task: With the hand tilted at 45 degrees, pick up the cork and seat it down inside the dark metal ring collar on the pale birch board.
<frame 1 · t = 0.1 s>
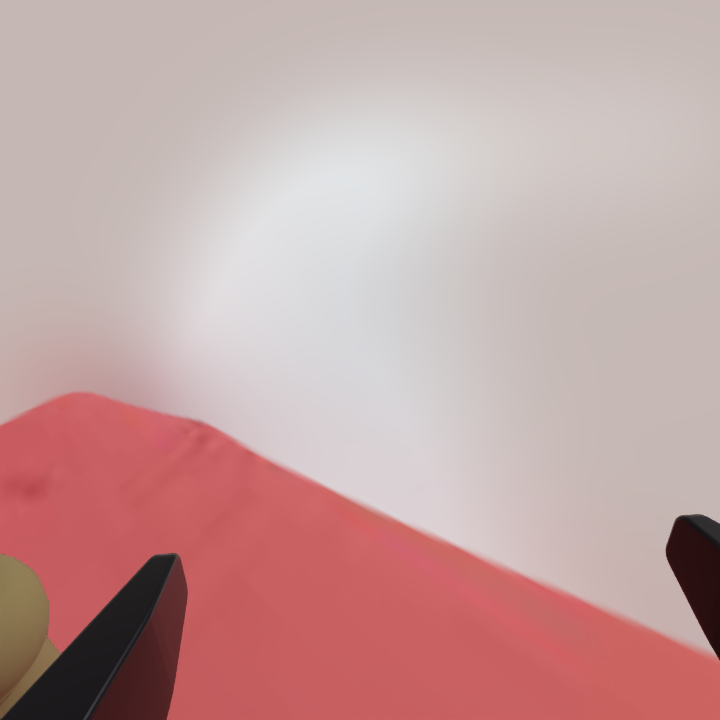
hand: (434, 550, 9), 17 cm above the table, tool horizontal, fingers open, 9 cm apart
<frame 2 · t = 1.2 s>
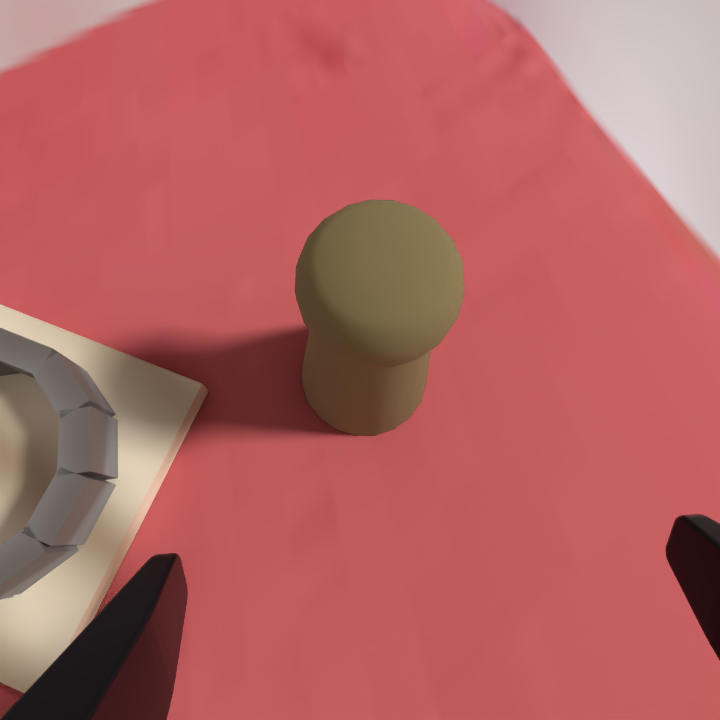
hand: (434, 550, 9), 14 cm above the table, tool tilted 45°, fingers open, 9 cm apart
cork: (363, 375, 25), on the table
collar board: (7, 470, 22), on the table
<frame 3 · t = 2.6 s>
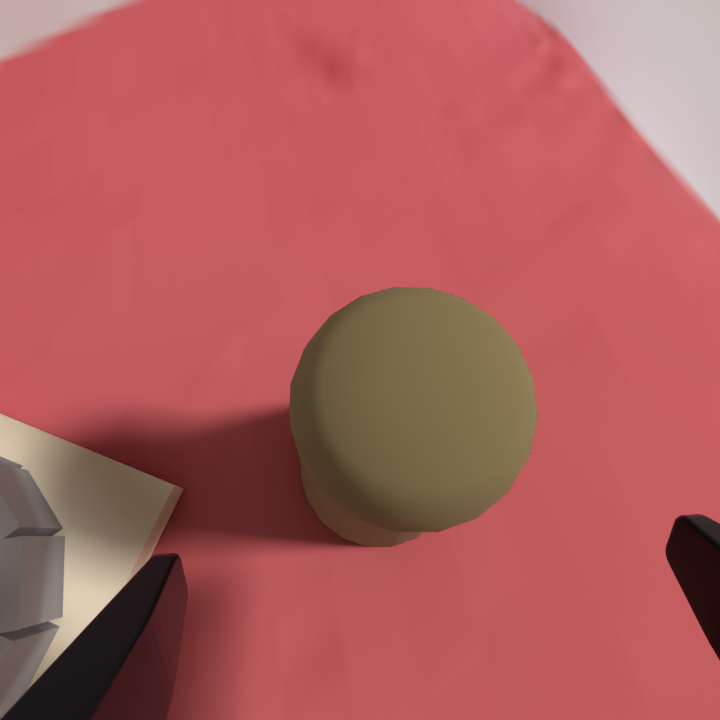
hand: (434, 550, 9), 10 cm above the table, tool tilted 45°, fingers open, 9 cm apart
cork: (377, 465, 20), on the table
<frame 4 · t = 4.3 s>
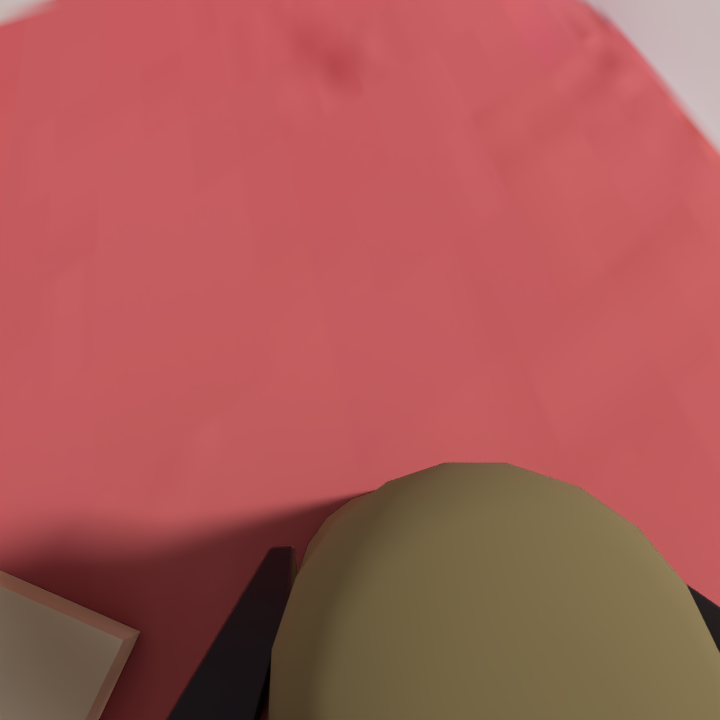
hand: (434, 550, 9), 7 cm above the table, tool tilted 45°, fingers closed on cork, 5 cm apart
cork: (397, 592, 15), on the table, touching gripper
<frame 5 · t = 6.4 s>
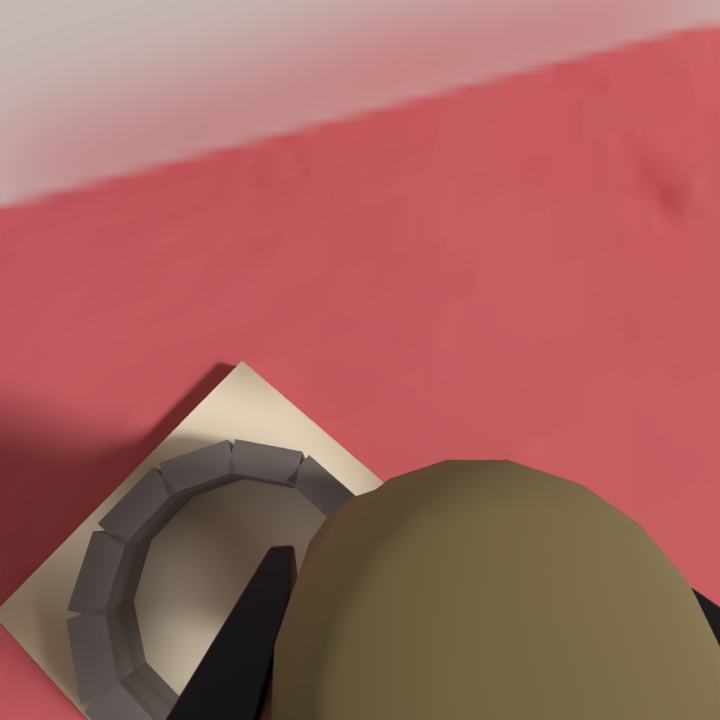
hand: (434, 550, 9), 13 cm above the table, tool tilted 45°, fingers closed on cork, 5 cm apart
cork: (398, 590, 15), point 6 cm above the table, touching gripper
collar board: (250, 586, 20), on the table
when the fingers open (9 cm above the table, at t = 8.4 s): cork drops 1 cm, resting on collar board.
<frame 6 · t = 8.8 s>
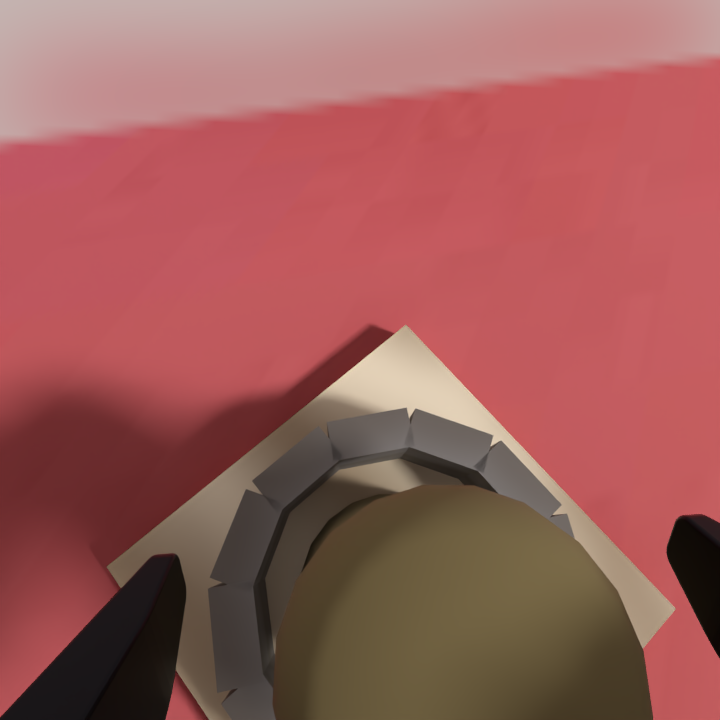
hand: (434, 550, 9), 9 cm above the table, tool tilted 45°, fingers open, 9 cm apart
cork: (392, 589, 16), point 1 cm above the table, touching collar board
collar board: (390, 584, 17), on the table
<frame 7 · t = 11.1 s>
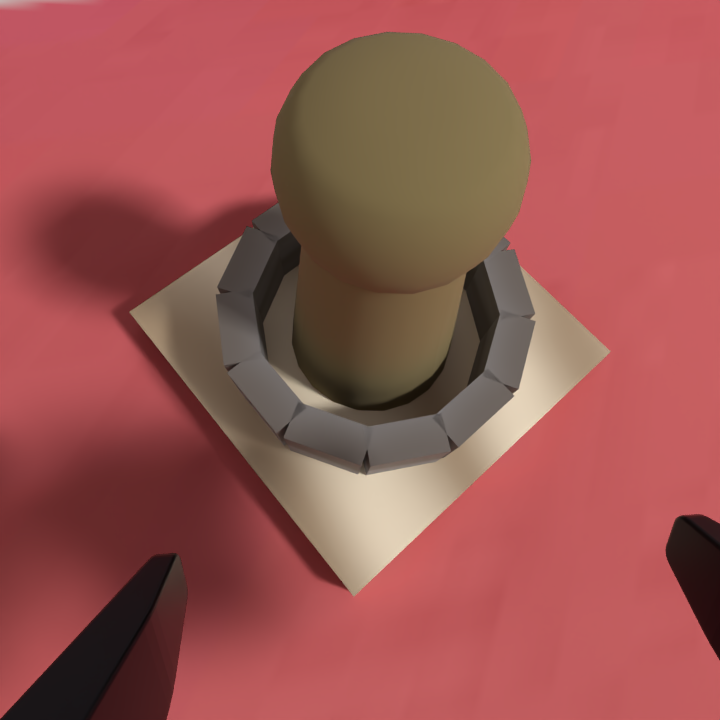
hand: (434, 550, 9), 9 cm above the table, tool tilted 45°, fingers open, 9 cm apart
cork: (371, 335, 19), point 1 cm above the table, touching collar board
collar board: (369, 343, 20), on the table
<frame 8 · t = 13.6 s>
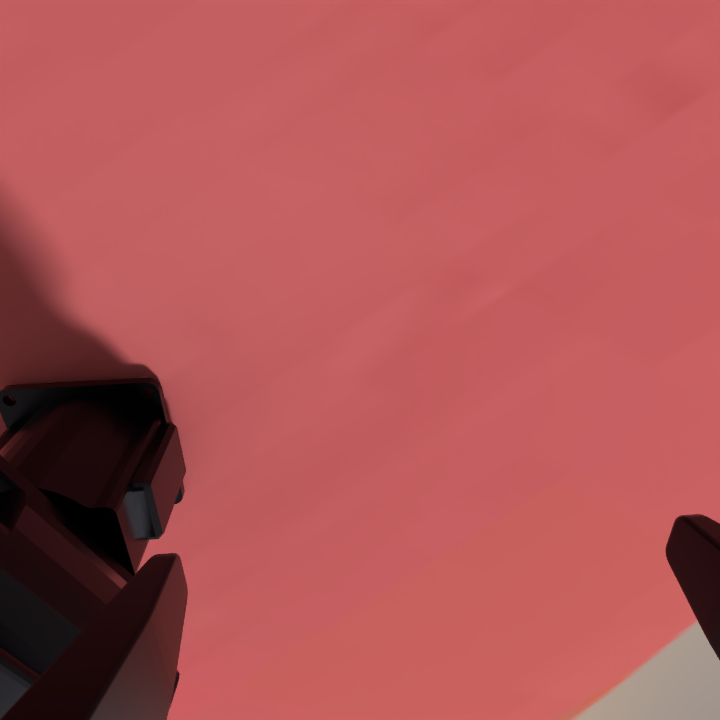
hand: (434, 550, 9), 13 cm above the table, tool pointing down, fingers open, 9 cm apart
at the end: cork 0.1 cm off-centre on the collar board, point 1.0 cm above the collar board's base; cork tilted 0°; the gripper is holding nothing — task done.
